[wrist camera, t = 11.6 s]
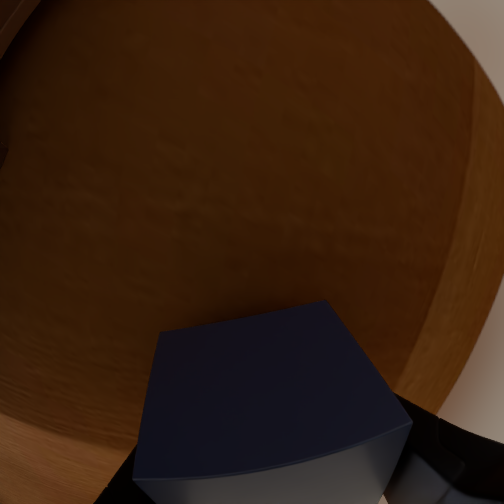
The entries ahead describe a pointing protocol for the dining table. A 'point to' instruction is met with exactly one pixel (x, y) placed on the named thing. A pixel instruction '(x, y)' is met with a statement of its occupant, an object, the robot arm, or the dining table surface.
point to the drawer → (13, 19)
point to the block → (268, 414)
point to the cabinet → (2, 152)
